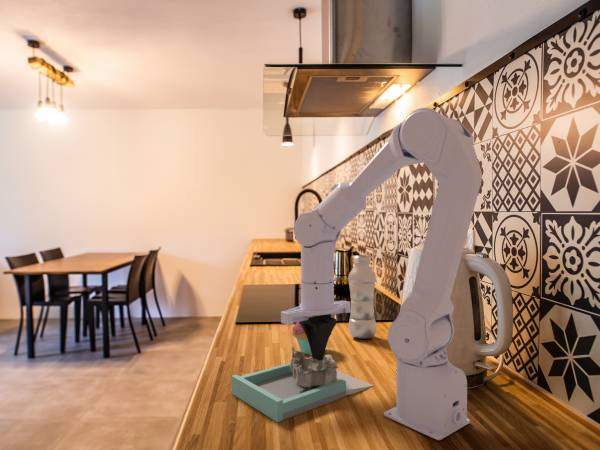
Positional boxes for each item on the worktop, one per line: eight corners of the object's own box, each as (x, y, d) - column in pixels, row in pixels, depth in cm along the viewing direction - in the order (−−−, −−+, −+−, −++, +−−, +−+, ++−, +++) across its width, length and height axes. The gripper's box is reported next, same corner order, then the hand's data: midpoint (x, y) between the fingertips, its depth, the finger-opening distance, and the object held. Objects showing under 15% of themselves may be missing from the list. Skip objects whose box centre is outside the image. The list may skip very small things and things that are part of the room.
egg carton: (288, 368, 79) (290, 345, 80) (328, 370, 80) (330, 348, 80) (293, 387, 69) (295, 361, 69) (339, 389, 70) (341, 364, 70)
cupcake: (297, 359, 89) (297, 301, 89) (288, 346, 97) (287, 294, 97) (336, 355, 91) (336, 299, 91) (323, 343, 100) (323, 292, 99)
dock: (374, 390, 75) (374, 368, 75) (277, 427, 62) (277, 401, 62) (324, 369, 85) (324, 350, 85) (231, 398, 72) (231, 375, 72)
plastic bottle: (376, 342, 101) (376, 257, 100) (347, 340, 102) (347, 256, 101) (376, 334, 107) (376, 254, 106) (349, 333, 108) (349, 254, 108)
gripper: (331, 275, 83) (331, 345, 83) (270, 283, 74) (270, 361, 74) (358, 279, 77) (358, 354, 78) (295, 288, 68) (296, 373, 68)
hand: (317, 358), depth 75 cm, fingers closed, pressing on egg carton
